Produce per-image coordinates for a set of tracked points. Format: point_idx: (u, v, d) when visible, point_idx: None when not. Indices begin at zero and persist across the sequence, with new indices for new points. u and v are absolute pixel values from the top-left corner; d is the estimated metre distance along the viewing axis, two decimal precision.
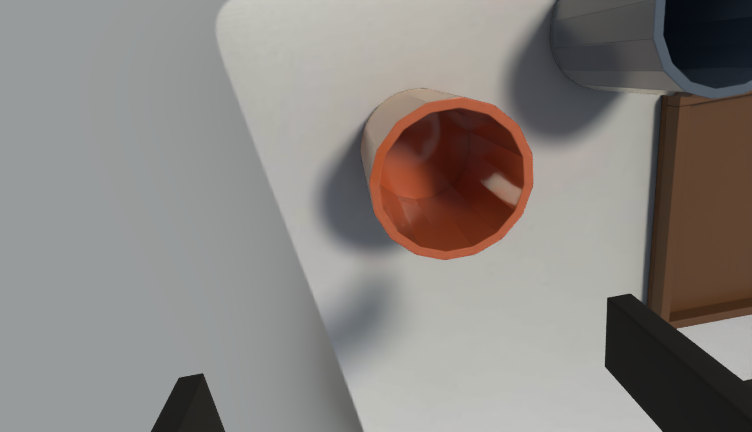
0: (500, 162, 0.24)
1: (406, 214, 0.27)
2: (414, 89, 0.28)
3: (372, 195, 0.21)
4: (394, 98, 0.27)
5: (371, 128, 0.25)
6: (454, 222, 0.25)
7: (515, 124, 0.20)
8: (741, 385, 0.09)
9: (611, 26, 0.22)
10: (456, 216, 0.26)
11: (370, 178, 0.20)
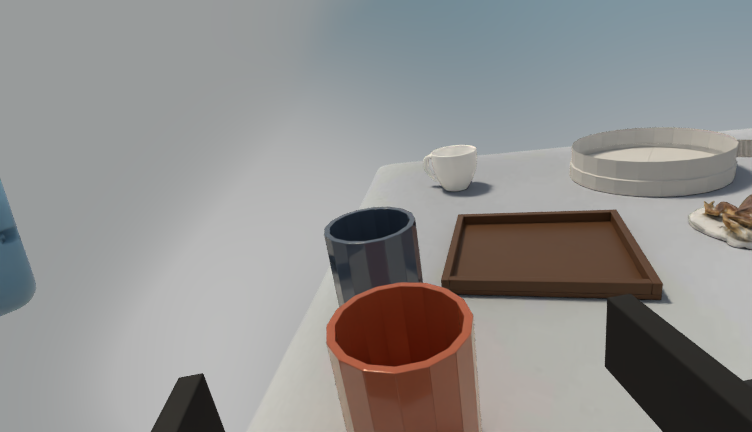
0: (419, 327, 0.28)
1: None
2: None
3: (376, 371, 0.20)
4: None
5: None
6: None
7: (374, 288, 0.27)
8: (741, 385, 0.09)
9: (360, 277, 0.35)
10: None
11: (359, 369, 0.20)
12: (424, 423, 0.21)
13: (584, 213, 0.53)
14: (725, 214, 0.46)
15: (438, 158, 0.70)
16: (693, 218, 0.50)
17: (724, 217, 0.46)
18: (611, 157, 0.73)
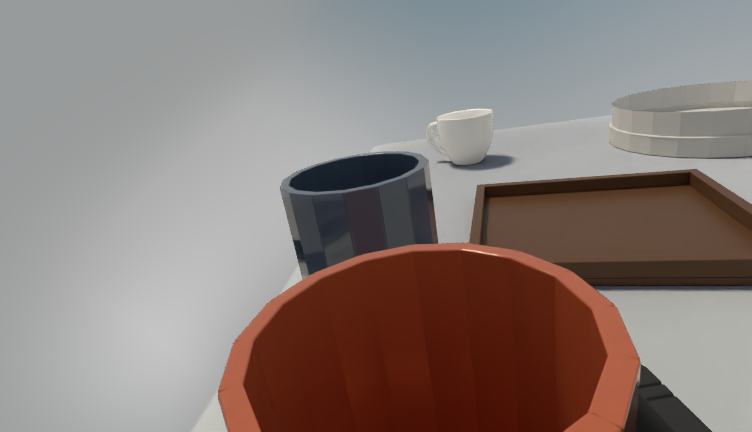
0: (454, 339, 0.13)
1: None
2: None
3: None
4: None
5: None
6: None
7: (357, 257, 0.13)
8: None
9: (339, 253, 0.21)
10: None
11: None
12: None
13: (652, 175, 0.39)
14: None
15: (446, 123, 0.56)
16: None
17: None
18: None
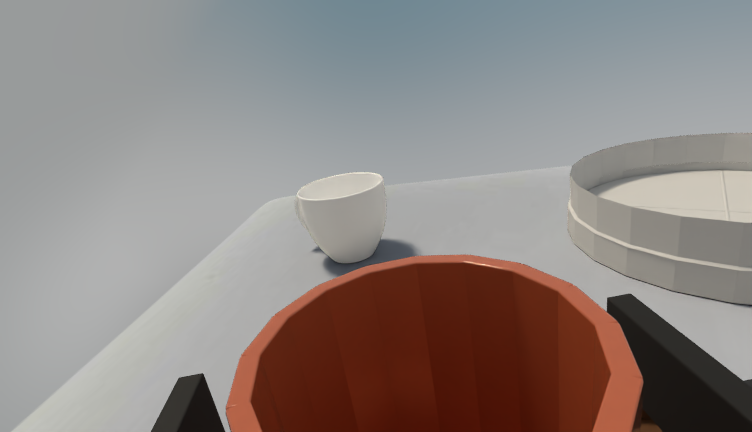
0: (457, 350, 0.13)
1: None
2: None
3: None
4: None
5: None
6: None
7: (361, 268, 0.13)
8: (741, 385, 0.09)
9: None
10: None
11: None
12: None
13: None
14: None
15: (303, 203, 0.35)
16: None
17: None
18: (646, 191, 0.38)
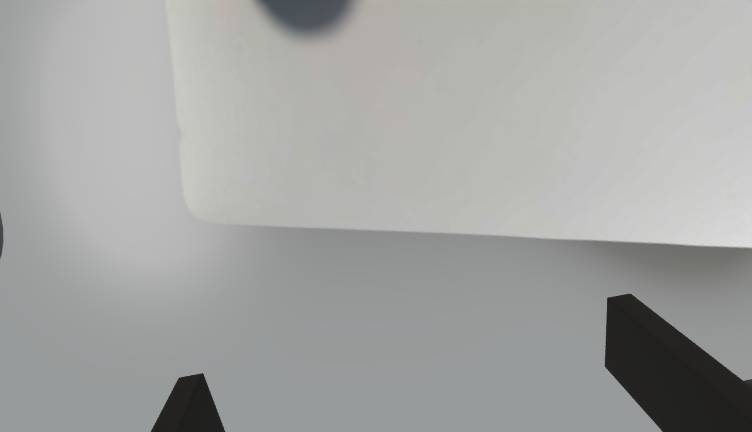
0: None
1: None
2: None
3: None
4: None
5: None
6: None
7: None
8: (741, 385, 0.09)
9: None
10: None
11: None
12: None
13: None
14: None
15: None
16: None
17: None
18: None
